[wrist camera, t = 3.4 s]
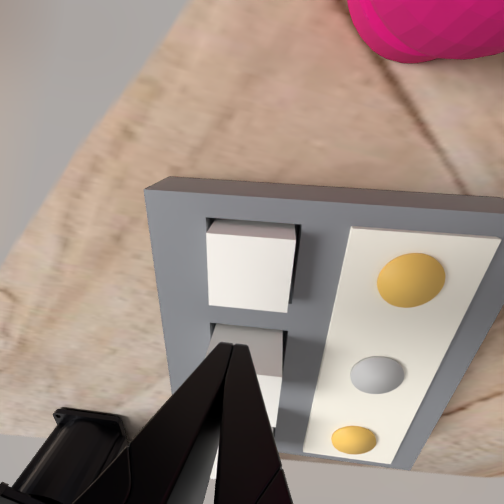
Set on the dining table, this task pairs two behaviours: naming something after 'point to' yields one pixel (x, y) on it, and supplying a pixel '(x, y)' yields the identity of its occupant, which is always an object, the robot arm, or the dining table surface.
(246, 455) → the robot arm
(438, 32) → the pepper mill
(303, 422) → the button panel
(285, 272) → the button
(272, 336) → the middle button
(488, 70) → the dining table surface
